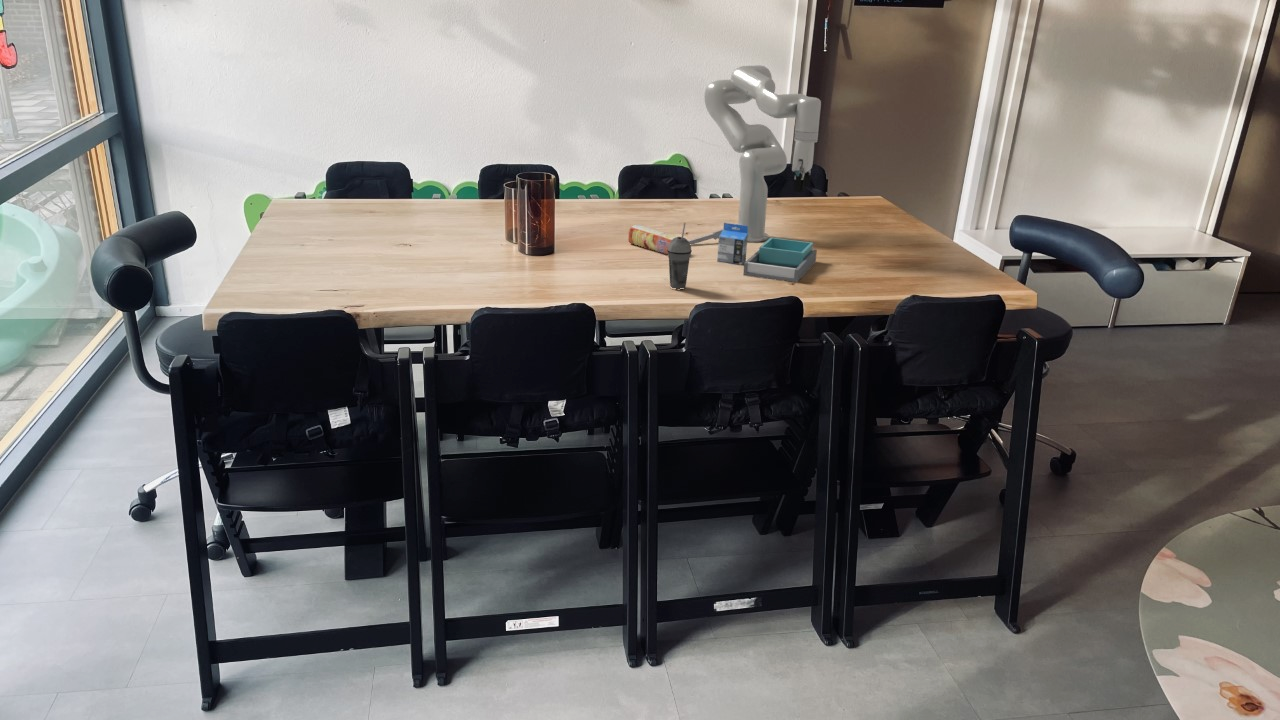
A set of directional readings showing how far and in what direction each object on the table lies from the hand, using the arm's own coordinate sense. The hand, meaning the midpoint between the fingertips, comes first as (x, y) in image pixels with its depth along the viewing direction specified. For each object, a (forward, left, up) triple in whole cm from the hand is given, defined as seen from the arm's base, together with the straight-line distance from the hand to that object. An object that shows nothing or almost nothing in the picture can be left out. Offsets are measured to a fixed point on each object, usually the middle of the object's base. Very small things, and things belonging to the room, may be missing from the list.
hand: (801, 189), depth 331 cm
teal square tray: (0, -14, -21) cm, 25 cm away
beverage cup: (-23, -55, -22) cm, 64 cm away
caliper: (-32, -2, -23) cm, 39 cm away
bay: (0, -20, -22) cm, 30 cm away
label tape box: (-17, -20, -22) cm, 34 cm away
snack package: (-45, -17, -23) cm, 53 cm away
